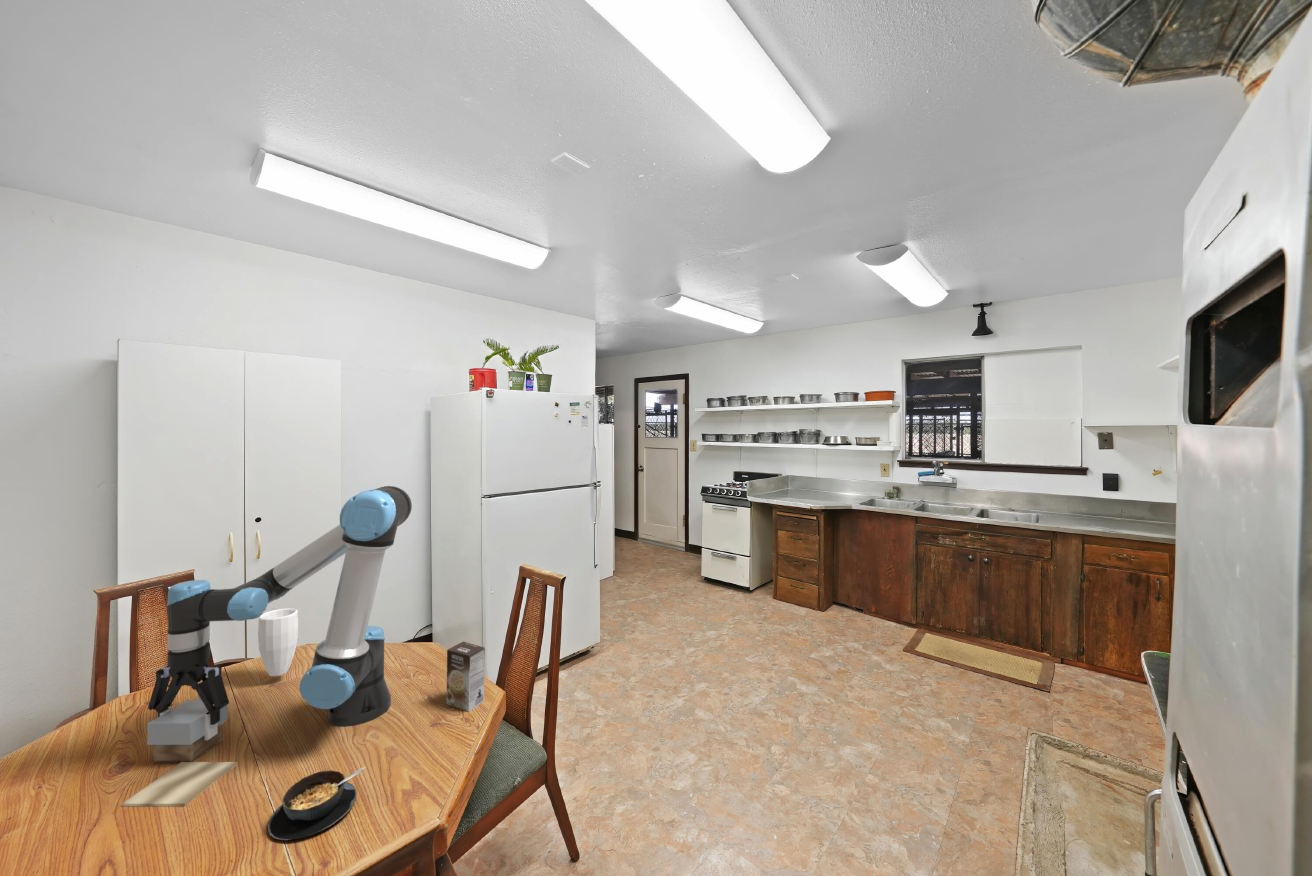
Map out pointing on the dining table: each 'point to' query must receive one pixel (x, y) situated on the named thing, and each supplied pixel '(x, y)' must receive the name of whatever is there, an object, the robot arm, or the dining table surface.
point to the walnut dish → (185, 750)
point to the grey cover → (181, 724)
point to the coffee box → (465, 676)
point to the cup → (278, 639)
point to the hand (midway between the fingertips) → (189, 736)
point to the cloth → (180, 784)
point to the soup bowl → (313, 805)
